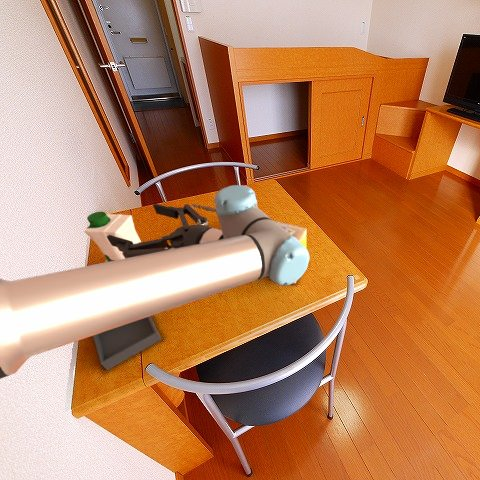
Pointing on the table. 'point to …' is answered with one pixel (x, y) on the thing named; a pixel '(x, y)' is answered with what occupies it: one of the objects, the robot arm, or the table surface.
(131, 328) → the tray
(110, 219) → the milk carton
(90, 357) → the table surface
